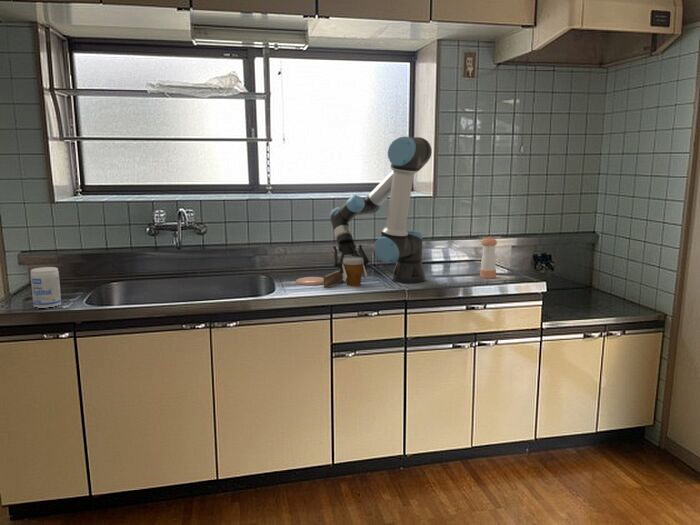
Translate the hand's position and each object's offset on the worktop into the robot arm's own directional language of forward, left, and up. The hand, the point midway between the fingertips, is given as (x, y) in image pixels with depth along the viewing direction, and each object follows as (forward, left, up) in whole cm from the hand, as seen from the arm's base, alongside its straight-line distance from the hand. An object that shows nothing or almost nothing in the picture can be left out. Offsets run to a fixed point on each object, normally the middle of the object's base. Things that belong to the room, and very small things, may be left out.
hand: (355, 278), depth 242 cm
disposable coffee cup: (+2, -2, -4) cm, 5 cm away
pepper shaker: (-49, -43, -4) cm, 65 cm away
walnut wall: (+11, 0, -4) cm, 12 cm away
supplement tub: (+95, +79, -4) cm, 124 cm away
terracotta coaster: (+22, 0, -4) cm, 23 cm away
